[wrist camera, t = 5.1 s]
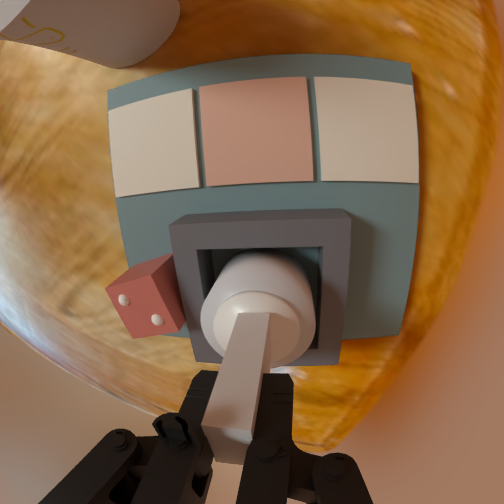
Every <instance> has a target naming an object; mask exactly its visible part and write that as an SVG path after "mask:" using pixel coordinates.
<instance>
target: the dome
mask: <svg viewBox="0 0 504 504" xmlns="http://www.w3.org/2000/svg"><path fill="white" fill-rule="evenodd" d="M238 313H270V332H271V365H270V368H276V367H280V366H283V365H286V364H288V363H291V362H293V361H294V360H296V359H297V358H299V357H300V356H301V355H302V354H303V353H304V352H305V351H306V350H307V349H308V347H309V346H310V344H311V342H312V340H313V338H314V334H315V328H316V322H315V313H314V305H313V297H312V290H311V284H310V279H309V276H308V274H307V272H306V270H305V269H304V267H303V266H302V265H301V263H300V262H299V261H298V260H296V259H295V258H294V257H293V256H291V255H289V254H288V253H286V252H284V251H281V250H278V249H275V248H251V249H247V250H245V251H242V252H240V253H238V254H237V255H235V256H234V257H232V258H231V259H230V260H229V261H228V262H227V264H226V265H225V266H224V268H223V270H222V271H221V273H220V275H219V277H218V278H217V280H216V282H215V284H214V285H213V287H212V289H211V291H210V292H209V294H208V296H207V298H206V299H205V301H204V303H203V306H202V309H201V318H200V321H201V327H202V331H203V333H204V336H205V338H206V339H207V341H208V343H209V344H210V345H211V347H212V348H213V349H214V350H215V351H216V352H217V353H218V354H220V355H221V356H222V357H224V354H225V351H226V348H227V345H228V342H229V339H230V336H231V333H232V330H233V327H234V324H235V321H236V318H237V315H238Z"/></svg>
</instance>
